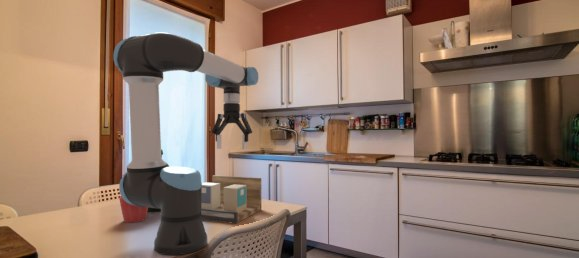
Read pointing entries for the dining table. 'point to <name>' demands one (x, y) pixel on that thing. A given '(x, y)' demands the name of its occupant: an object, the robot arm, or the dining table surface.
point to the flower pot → (132, 211)
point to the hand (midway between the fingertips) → (231, 148)
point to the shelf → (251, 199)
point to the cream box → (210, 195)
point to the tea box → (235, 198)
